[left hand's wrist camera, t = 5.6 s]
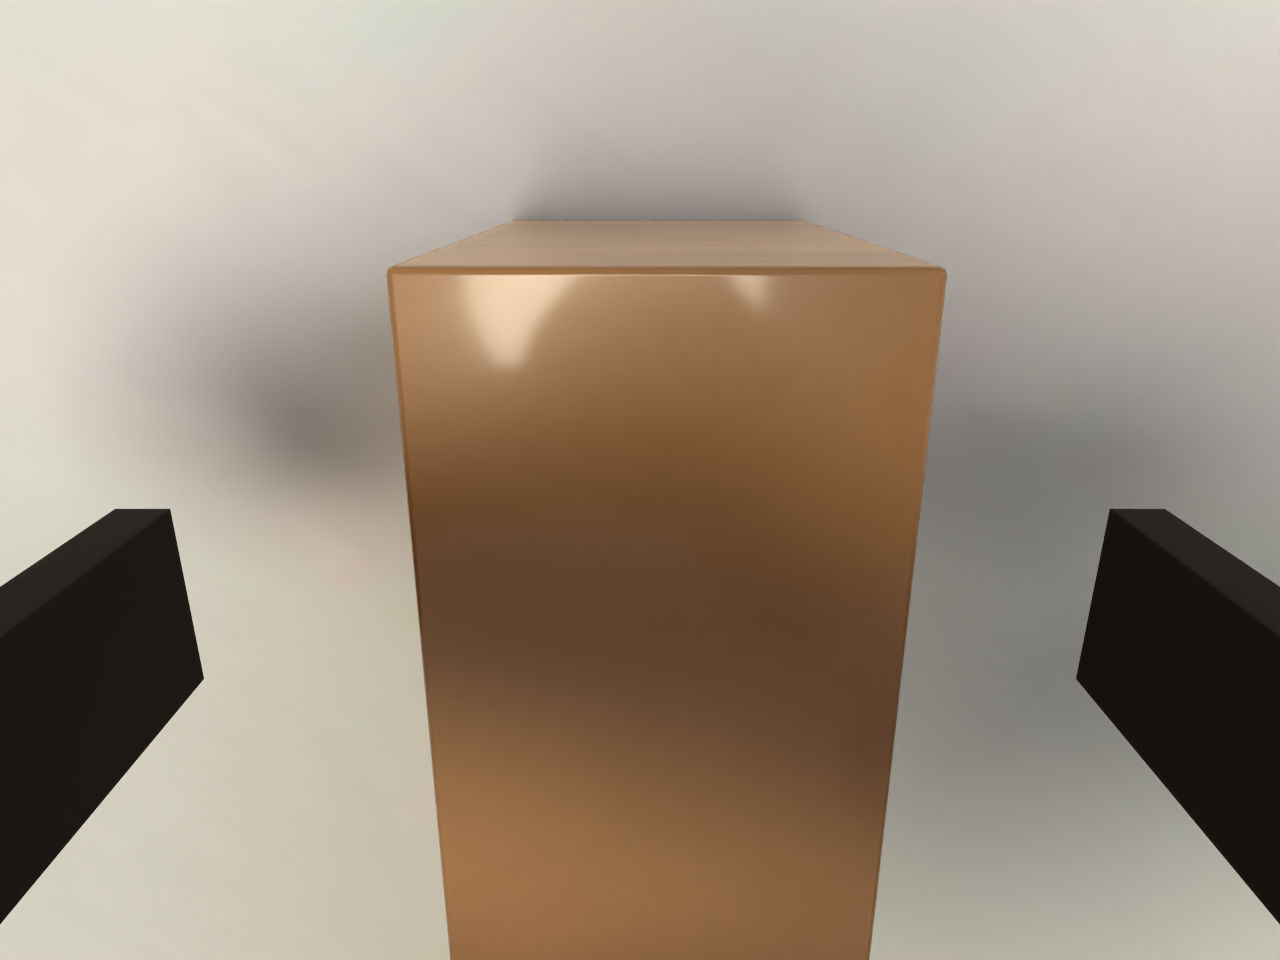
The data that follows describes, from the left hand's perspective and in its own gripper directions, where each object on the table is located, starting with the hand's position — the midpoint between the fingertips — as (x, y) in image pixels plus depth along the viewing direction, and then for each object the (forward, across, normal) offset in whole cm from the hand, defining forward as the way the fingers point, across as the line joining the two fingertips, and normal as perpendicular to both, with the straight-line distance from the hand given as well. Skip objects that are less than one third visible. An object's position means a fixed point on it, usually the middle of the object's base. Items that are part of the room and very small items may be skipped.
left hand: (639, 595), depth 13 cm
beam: (+5, 0, -32) cm, 33 cm away
